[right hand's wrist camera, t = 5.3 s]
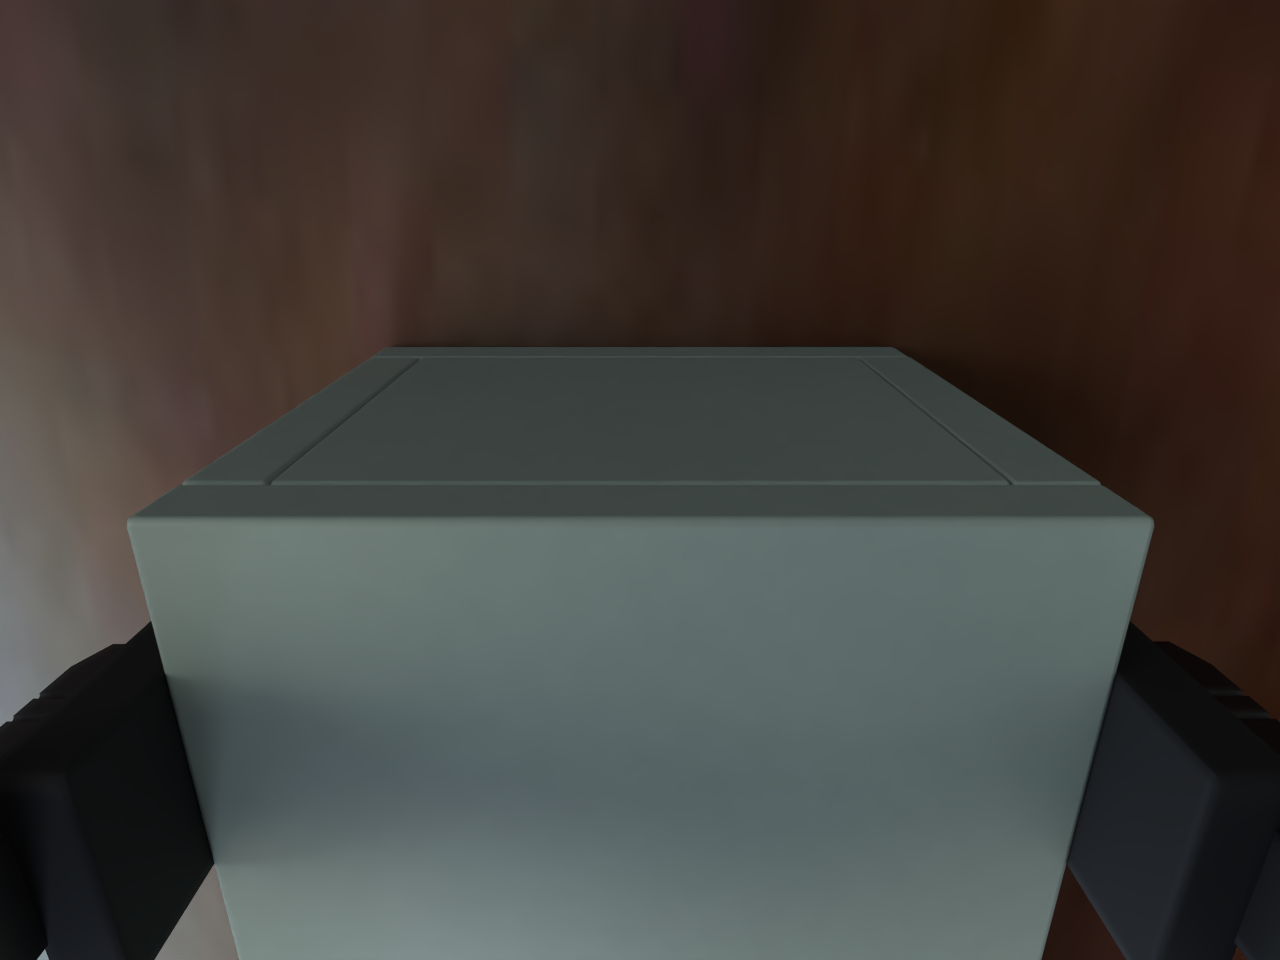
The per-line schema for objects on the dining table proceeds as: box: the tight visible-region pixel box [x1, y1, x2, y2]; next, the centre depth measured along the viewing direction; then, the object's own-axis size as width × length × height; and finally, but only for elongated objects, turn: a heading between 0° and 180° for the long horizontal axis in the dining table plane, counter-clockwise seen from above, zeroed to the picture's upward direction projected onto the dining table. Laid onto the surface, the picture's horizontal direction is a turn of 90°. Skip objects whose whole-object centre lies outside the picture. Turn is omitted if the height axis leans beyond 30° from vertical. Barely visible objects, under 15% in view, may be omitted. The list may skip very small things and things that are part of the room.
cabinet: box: [127, 347, 1154, 960], centre depth 15 cm, size 21×10×8 cm, turn 0°
